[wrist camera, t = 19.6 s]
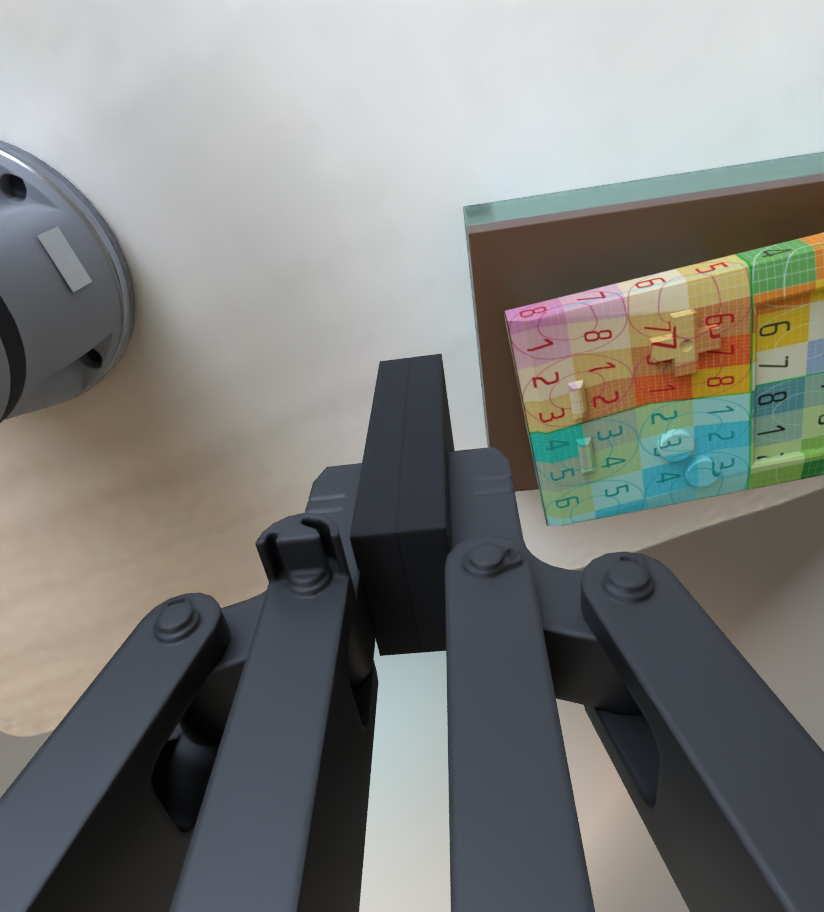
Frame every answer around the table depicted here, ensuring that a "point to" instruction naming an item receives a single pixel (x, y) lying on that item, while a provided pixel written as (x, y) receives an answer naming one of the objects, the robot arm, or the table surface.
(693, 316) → the puzzle game
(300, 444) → the table surface
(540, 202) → the step shelf
